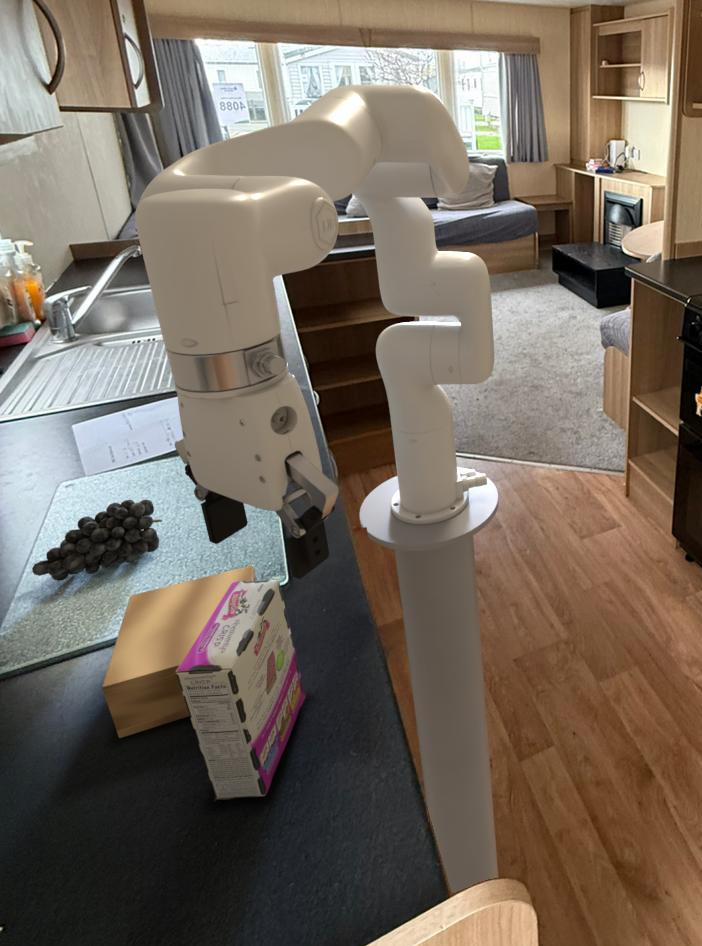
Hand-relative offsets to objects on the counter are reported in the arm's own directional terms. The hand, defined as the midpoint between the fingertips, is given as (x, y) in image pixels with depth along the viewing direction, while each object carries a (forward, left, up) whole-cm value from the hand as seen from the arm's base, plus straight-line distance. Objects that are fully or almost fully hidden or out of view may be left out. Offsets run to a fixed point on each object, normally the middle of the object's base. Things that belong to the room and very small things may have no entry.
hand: (269, 550), depth 54 cm
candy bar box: (+5, -6, -27) cm, 28 cm away
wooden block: (+12, -20, -27) cm, 35 cm away
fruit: (+26, -46, -27) cm, 59 cm away
